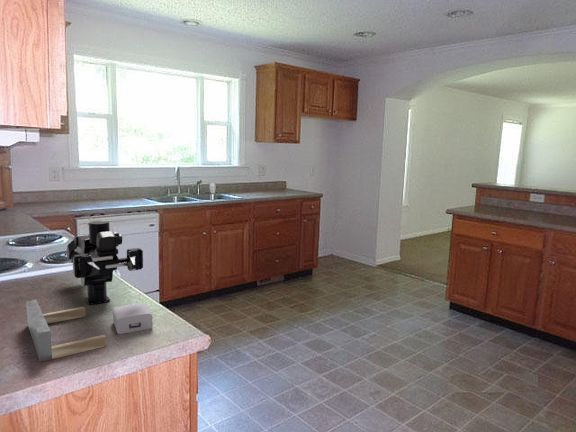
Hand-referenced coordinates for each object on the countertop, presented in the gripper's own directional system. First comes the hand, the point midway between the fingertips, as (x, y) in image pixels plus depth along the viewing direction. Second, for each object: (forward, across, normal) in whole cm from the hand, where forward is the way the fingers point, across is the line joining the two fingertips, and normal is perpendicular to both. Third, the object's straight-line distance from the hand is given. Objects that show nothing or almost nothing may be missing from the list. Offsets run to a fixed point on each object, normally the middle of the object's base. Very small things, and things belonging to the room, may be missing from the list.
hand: (117, 269), depth 116 cm
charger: (-2, +4, +17) cm, 18 cm away
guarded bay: (-2, -13, +17) cm, 21 cm away
